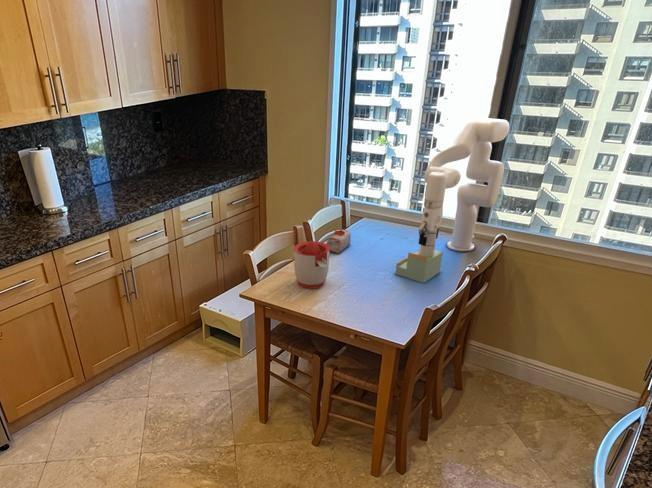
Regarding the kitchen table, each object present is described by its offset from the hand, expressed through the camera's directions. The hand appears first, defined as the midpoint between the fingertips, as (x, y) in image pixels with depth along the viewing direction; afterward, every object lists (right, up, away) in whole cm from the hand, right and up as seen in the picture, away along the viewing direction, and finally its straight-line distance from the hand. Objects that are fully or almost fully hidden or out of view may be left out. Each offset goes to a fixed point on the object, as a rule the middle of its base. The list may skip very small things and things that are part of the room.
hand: (427, 241), depth 223 cm
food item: (-32, +3, +38) cm, 50 cm away
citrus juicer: (-50, -18, +6) cm, 53 cm away
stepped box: (-1, -13, +10) cm, 16 cm away
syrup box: (0, -5, +3) cm, 6 cm away
